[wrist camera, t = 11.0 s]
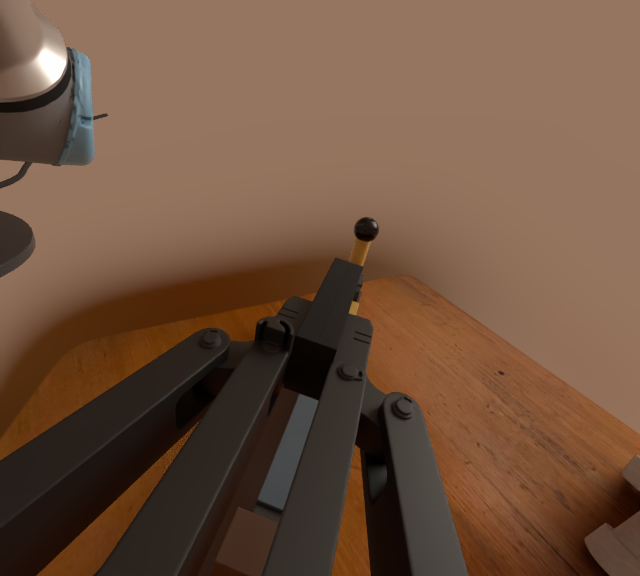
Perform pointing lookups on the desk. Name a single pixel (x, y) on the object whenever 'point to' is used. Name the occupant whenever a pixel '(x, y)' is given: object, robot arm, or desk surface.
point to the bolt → (363, 239)
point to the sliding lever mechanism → (264, 487)
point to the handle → (619, 536)
